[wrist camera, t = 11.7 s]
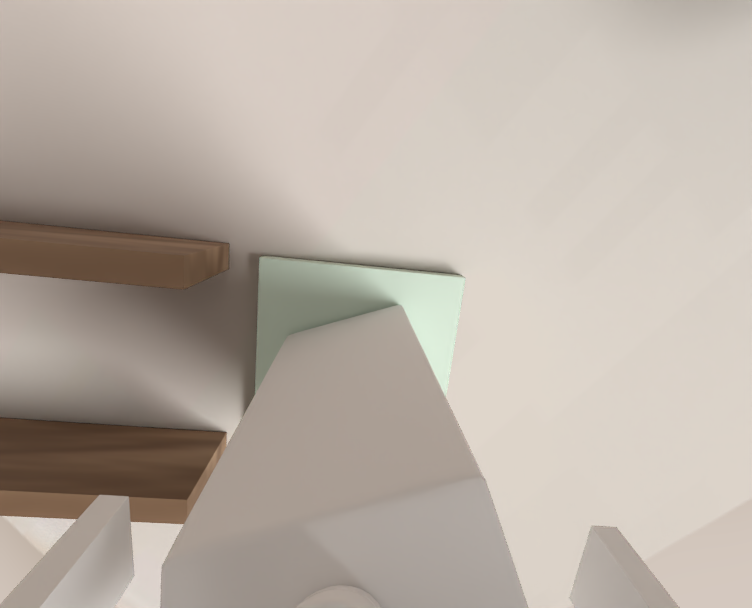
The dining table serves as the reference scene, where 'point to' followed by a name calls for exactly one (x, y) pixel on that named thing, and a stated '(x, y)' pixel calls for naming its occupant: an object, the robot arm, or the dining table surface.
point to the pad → (354, 304)
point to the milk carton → (345, 488)
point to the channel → (96, 441)
